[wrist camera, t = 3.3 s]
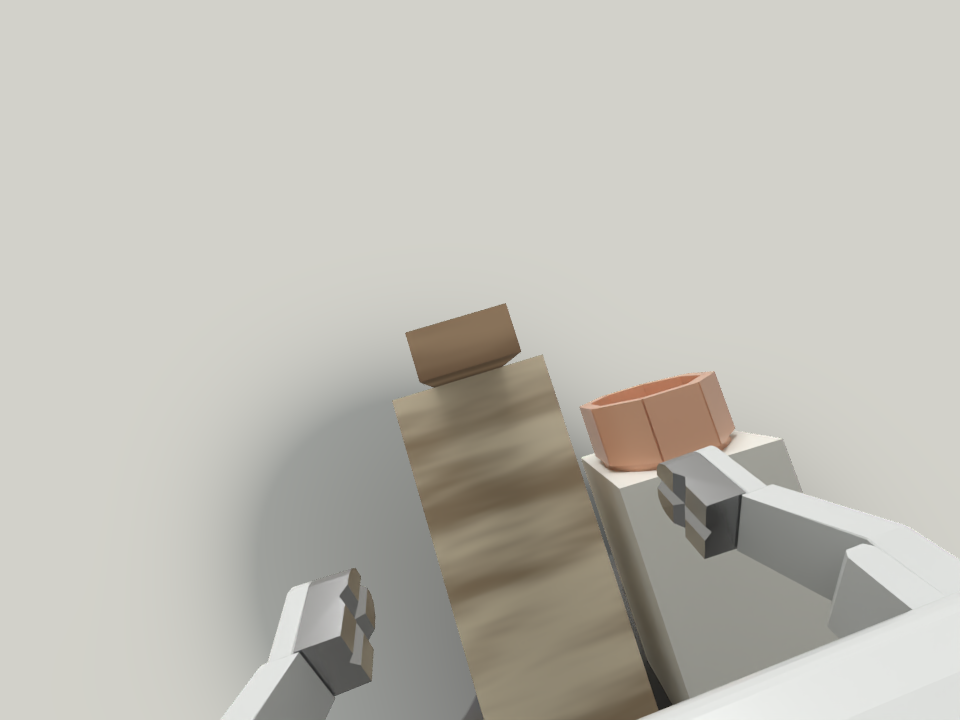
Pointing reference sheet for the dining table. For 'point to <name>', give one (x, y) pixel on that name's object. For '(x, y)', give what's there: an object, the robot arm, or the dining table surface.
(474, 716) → the dining table surface
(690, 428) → the bowl
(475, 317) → the lid slat
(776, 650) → the block
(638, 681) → the stand
